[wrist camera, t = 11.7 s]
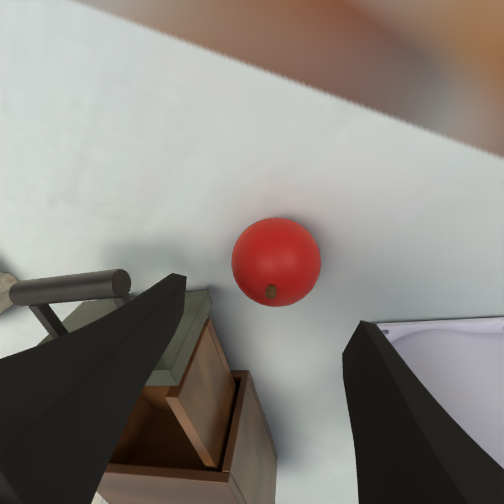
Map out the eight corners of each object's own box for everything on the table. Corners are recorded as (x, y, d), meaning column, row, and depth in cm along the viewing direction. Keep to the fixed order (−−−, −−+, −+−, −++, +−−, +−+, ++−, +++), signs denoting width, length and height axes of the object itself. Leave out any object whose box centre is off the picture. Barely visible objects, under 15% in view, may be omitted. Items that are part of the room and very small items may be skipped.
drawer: (49, 248, 19) (-53, 310, 13) (186, 227, 16) (128, 293, 11) (149, 404, 27) (111, 483, 22) (251, 406, 25) (236, 495, 19)
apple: (313, 198, 15) (319, 244, 11) (322, 270, 17) (330, 333, 13) (232, 211, 16) (205, 257, 12) (249, 277, 19) (233, 338, 14)
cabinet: (132, 371, 26) (72, 469, 19) (249, 370, 23) (228, 483, 16) (181, 449, 33) (150, 544, 26) (277, 455, 30) (271, 563, 23)
